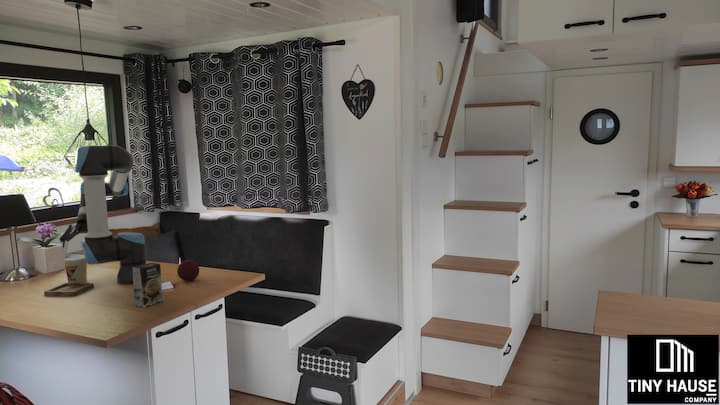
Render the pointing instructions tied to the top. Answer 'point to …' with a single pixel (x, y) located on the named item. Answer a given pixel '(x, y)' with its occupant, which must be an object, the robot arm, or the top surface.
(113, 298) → the top surface
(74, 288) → the coaster tray
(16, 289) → the top surface
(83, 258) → the coffee cup
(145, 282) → the coffee box
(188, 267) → the decorative ball
